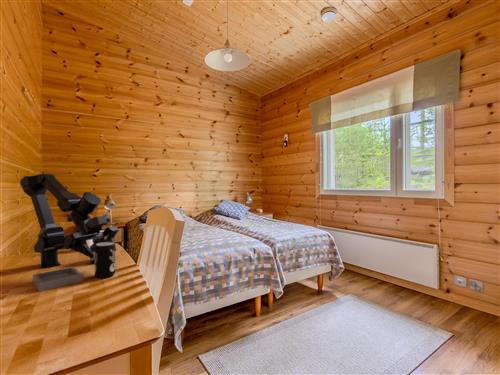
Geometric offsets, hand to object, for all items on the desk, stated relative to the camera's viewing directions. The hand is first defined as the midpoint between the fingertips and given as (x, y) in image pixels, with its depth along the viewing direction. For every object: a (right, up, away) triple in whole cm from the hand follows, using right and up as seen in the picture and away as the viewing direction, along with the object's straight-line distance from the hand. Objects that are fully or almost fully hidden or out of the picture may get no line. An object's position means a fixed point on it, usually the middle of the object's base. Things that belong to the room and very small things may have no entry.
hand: (104, 254), depth 96 cm
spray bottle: (-31, -7, +38) cm, 49 cm away
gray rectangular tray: (-13, -8, -6) cm, 16 cm away
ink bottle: (-12, -8, +19) cm, 24 cm away
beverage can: (0, -8, 0) cm, 8 cm away
